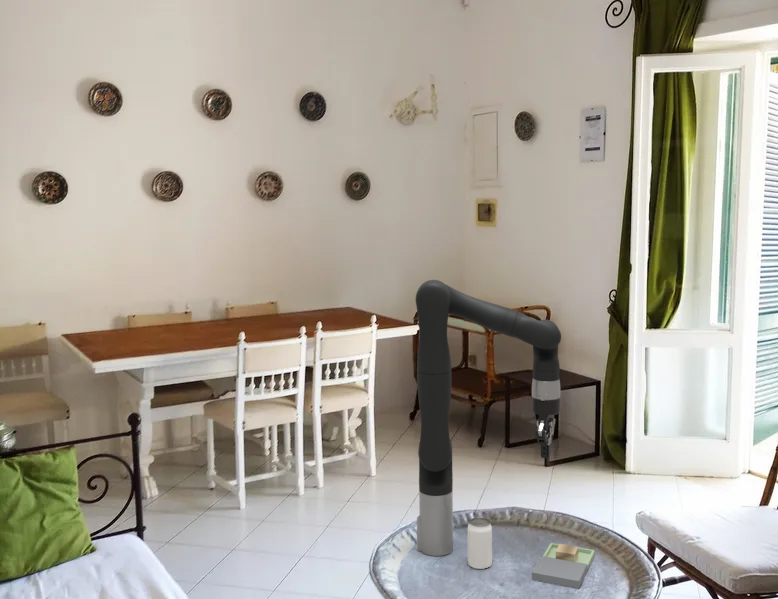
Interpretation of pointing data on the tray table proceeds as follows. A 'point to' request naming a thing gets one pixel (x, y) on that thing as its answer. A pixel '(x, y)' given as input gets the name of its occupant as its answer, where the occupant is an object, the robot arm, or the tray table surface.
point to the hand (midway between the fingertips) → (545, 457)
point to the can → (479, 543)
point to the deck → (559, 572)
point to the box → (583, 554)
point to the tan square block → (567, 552)
